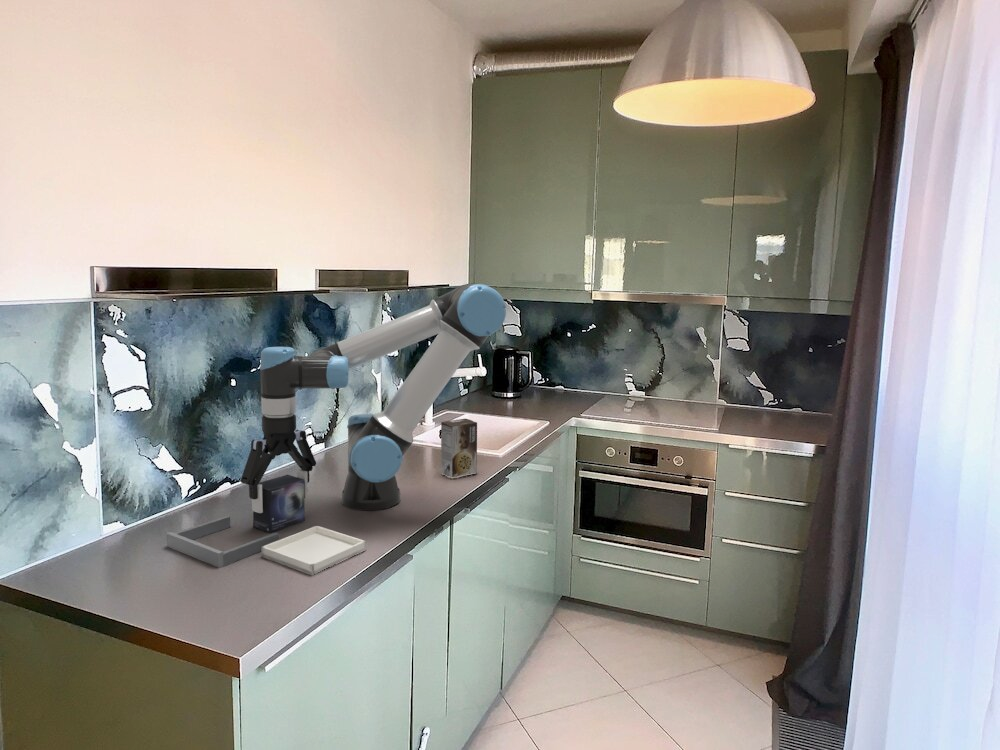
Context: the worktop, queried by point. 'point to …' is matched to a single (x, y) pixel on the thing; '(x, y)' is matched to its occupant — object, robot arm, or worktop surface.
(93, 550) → the worktop surface
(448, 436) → the coffee box
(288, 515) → the small box
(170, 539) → the bay
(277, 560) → the tray
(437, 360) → the robot arm
